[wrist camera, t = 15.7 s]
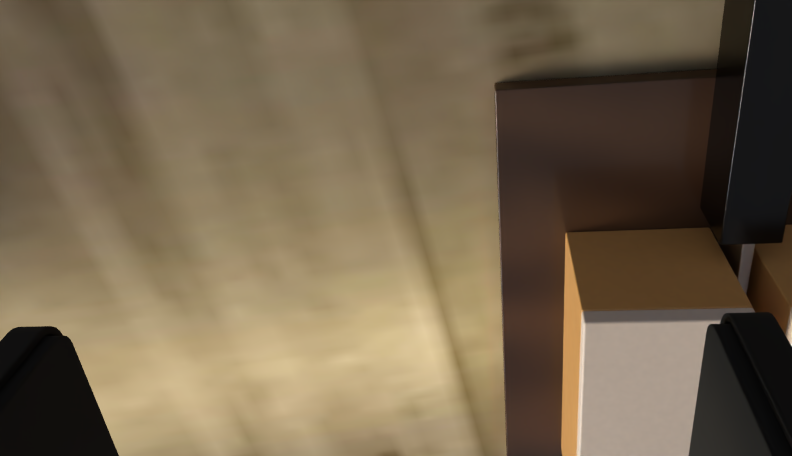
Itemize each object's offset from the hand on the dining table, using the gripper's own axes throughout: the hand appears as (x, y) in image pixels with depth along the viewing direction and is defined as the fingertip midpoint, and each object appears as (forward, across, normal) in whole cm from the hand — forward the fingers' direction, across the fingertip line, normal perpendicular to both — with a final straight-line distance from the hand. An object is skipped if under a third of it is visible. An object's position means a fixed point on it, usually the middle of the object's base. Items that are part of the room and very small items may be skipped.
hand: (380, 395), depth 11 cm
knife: (+21, -12, +11) cm, 27 cm away
